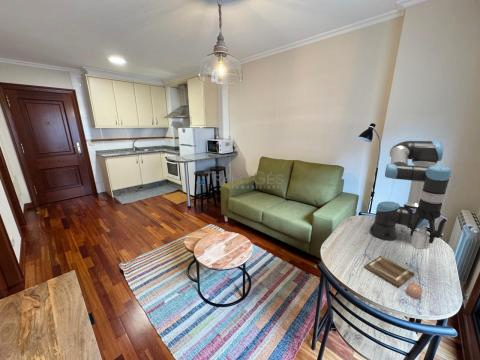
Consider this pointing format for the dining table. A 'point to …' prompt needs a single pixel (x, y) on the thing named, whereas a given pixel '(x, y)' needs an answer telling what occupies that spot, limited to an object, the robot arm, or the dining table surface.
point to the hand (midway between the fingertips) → (419, 245)
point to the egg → (414, 290)
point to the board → (389, 271)
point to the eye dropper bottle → (420, 238)
